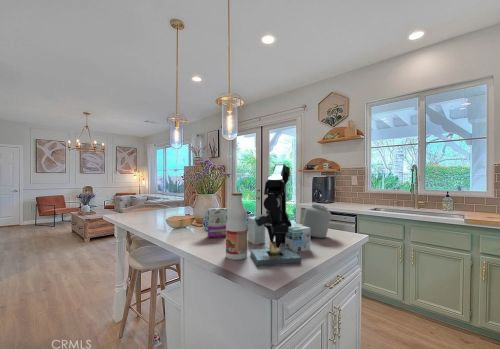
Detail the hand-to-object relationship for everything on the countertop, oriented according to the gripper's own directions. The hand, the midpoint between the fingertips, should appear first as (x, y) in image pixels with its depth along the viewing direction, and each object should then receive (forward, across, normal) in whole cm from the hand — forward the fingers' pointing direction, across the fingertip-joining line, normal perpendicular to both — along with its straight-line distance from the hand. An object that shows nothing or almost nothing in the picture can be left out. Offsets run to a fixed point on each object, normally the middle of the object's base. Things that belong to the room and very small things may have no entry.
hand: (274, 244), depth 101 cm
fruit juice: (+6, -6, -16) cm, 18 cm away
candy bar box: (+6, -42, -22) cm, 48 cm away
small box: (+6, -27, -2) cm, 28 cm away
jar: (+6, -32, +36) cm, 49 cm away
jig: (+6, 0, 0) cm, 6 cm away
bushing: (+6, 0, 0) cm, 6 cm away
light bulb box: (+6, -11, +15) cm, 20 cm away
